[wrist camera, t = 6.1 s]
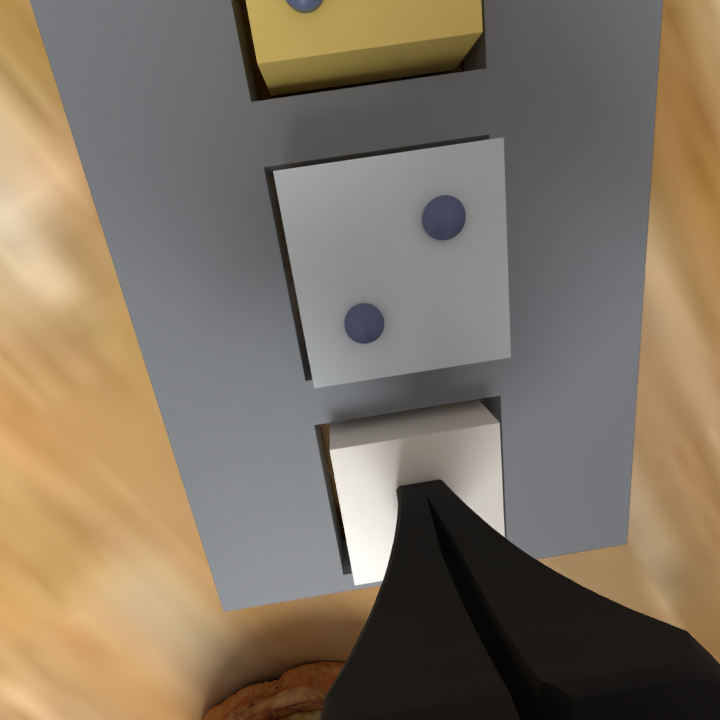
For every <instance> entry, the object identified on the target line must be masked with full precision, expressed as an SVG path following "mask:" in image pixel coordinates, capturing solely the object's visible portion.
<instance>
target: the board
mask: <svg viewBox="0 0 720 720" xmlns="http://www.w3.org/2000/svg"><path fill="white" fill-rule="evenodd" d="M30 2H31V5H32V9H33V12H34V15H35V18H36V21H37V24H38V27H39V31H40V34H41V37H42V40H43V43H44V46H45V50H46V53H47V56H48V59H49V62H50V65H51V68H52V72H53V75H54V78H55V81H56V84H57V87H58V91H59V94H60V97H61V100H62V103H63V106H64V109H65V113H66V116H67V119H68V122H69V125H70V128H71V132H72V135H73V138H74V141H75V144H76V147H77V150H78V154H79V157H80V160H81V163H82V166H83V169H84V173H85V176H86V179H87V182H88V185H89V188H90V191H91V195H92V198H93V201H94V204H95V207H96V210H97V214H98V217H99V220H100V223H101V226H102V229H103V232H104V236H105V239H106V242H107V245H108V248H109V251H110V254H111V258H112V261H113V264H114V267H115V270H116V273H117V277H118V280H119V283H120V286H121V289H122V292H123V295H124V299H125V302H126V305H127V308H128V311H129V314H130V318H131V321H132V324H133V327H134V330H135V333H136V336H137V340H138V343H139V346H140V349H141V352H142V355H143V359H144V362H145V365H146V368H147V371H148V374H149V377H150V381H151V384H152V387H153V390H154V393H155V396H156V400H157V403H158V406H159V409H160V412H161V415H162V418H163V422H164V425H165V428H166V431H167V434H168V437H169V441H170V444H171V447H172V450H173V453H174V456H175V459H176V463H177V466H178V469H179V472H180V475H181V478H182V482H183V485H184V488H185V491H186V494H187V497H188V500H189V504H190V507H191V510H192V513H193V516H194V519H195V523H196V526H197V529H198V532H199V535H200V538H201V541H202V545H203V548H204V551H205V554H206V557H207V560H208V564H209V567H210V570H211V573H212V576H213V579H214V582H215V586H216V589H217V592H218V595H219V598H220V601H221V605H222V608H223V611H224V612H226V611H232V610H238V609H244V608H249V607H255V606H261V605H267V604H273V603H279V602H285V601H291V600H297V599H303V598H309V597H315V596H321V595H327V594H333V593H339V592H345V591H351V590H357V589H363V588H369V587H374V586H380V585H382V582H383V581H378V582H373V583H367V584H361V585H355V584H354V579H353V573H352V568H351V563H350V557H349V552H348V546H347V541H346V540H344V541H342V537H341V532H340V526H339V521H338V516H337V511H336V505H335V500H334V495H333V490H332V484H331V479H330V474H329V469H328V463H327V458H326V453H325V448H324V442H323V437H322V432H321V427H320V424H325V423H331V422H338V421H344V420H350V419H356V418H363V417H369V416H375V415H381V414H388V413H394V412H400V411H407V410H413V409H419V408H425V407H432V406H438V405H444V404H451V403H457V402H463V401H469V400H476V399H482V398H483V405H484V406H485V407H486V408H487V409H488V410H489V411H490V413H491V414H492V415H493V416H494V417H495V418H496V419H497V420H498V421H499V423H500V441H501V463H502V486H503V509H504V531H505V538H506V539H508V540H509V541H510V542H512V543H513V544H514V545H516V546H517V547H518V548H520V549H521V550H523V551H524V552H525V553H527V554H528V555H530V556H532V557H533V558H535V559H541V558H547V557H553V556H559V555H565V554H571V553H577V552H583V551H589V550H595V549H601V548H607V547H613V546H619V545H625V544H627V536H628V521H629V506H630V491H631V475H632V460H633V445H634V430H635V415H636V400H637V384H638V369H639V354H640V339H641V324H642V309H643V293H644V278H645V263H646V248H647V233H648V218H649V202H650V187H651V172H652V157H653V142H654V127H655V111H656V96H657V81H658V66H659V51H660V36H661V20H662V5H663V0H481V5H482V27H483V32H482V34H481V35H480V37H479V38H478V39H477V41H476V42H475V43H474V45H473V46H472V47H471V49H470V50H469V52H468V53H467V54H466V56H465V57H464V72H457V73H450V74H443V75H436V76H429V77H422V78H415V79H408V80H401V81H394V82H387V83H380V84H373V85H366V86H359V87H352V88H345V89H338V90H331V91H324V92H317V93H310V94H303V95H296V96H289V97H282V98H275V99H268V100H261V101H258V96H257V90H256V85H255V80H254V75H253V69H252V64H251V59H250V54H249V48H248V43H247V38H246V33H245V27H244V22H243V17H242V12H241V6H240V1H239V0H30ZM502 137H504V161H505V191H506V221H507V252H508V282H509V312H510V342H511V358H504V359H498V360H492V361H485V362H479V363H473V364H466V365H460V366H454V367H447V368H441V369H434V370H428V371H422V372H415V373H409V374H403V375H396V376H390V377H384V378H377V379H371V380H365V381H358V382H352V383H346V384H339V385H333V386H327V387H320V388H314V385H313V380H312V374H311V369H310V364H308V358H307V353H306V348H305V343H304V337H303V332H302V327H301V322H300V316H299V311H298V306H297V301H296V295H295V290H294V285H293V280H292V274H291V269H290V264H289V259H288V253H287V248H286V243H285V238H284V232H283V227H282V222H281V217H280V211H279V206H278V201H277V196H276V190H275V185H274V180H273V176H274V174H273V171H277V170H283V169H290V168H297V167H304V166H311V165H318V164H324V163H331V162H338V161H345V160H352V159H359V158H365V157H372V156H379V155H386V154H393V153H400V152H407V151H413V150H420V149H427V148H434V147H441V146H448V145H454V144H461V143H468V142H475V141H482V140H489V139H495V138H502Z"/></svg>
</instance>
